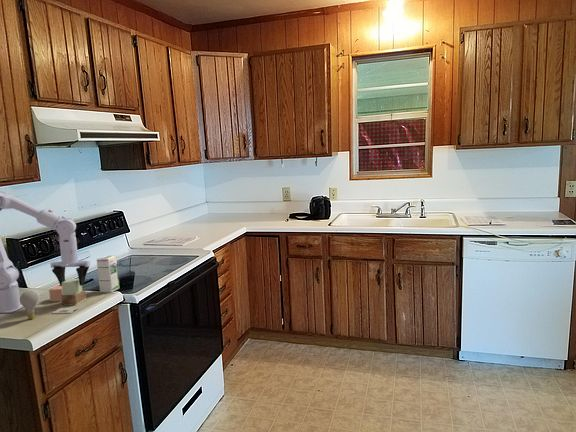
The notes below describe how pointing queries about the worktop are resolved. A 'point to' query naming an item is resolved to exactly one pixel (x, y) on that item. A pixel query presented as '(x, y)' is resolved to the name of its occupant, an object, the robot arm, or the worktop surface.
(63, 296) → the walnut block
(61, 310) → the card
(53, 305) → the worktop surface
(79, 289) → the sage block
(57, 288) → the terracotta block
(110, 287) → the syrup box
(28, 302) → the light bulb
